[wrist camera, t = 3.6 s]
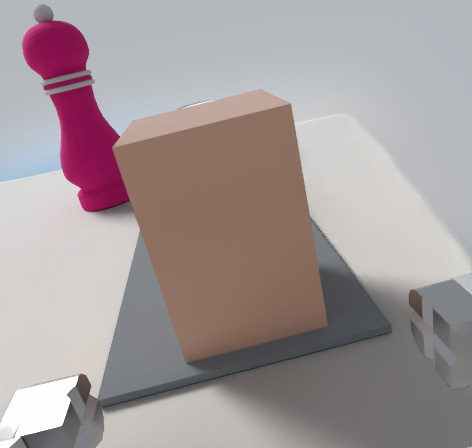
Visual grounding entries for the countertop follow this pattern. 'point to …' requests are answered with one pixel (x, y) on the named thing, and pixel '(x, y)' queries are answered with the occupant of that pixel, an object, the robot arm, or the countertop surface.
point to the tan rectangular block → (225, 221)
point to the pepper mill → (75, 110)
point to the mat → (181, 373)
